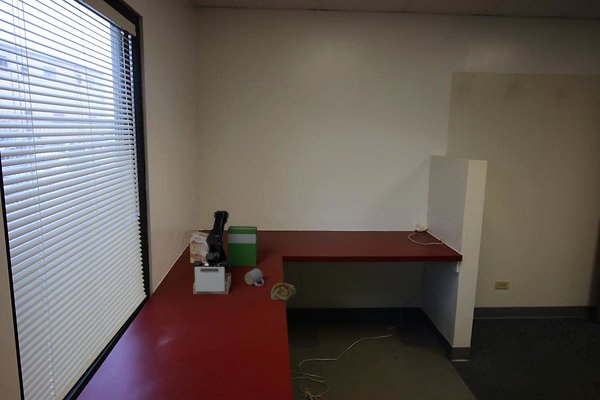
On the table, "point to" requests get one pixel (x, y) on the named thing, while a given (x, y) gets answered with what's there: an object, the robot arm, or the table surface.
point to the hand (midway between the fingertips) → (210, 280)
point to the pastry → (282, 292)
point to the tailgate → (209, 279)
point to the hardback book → (242, 245)
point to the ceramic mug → (254, 277)
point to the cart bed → (227, 287)
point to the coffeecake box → (198, 247)
